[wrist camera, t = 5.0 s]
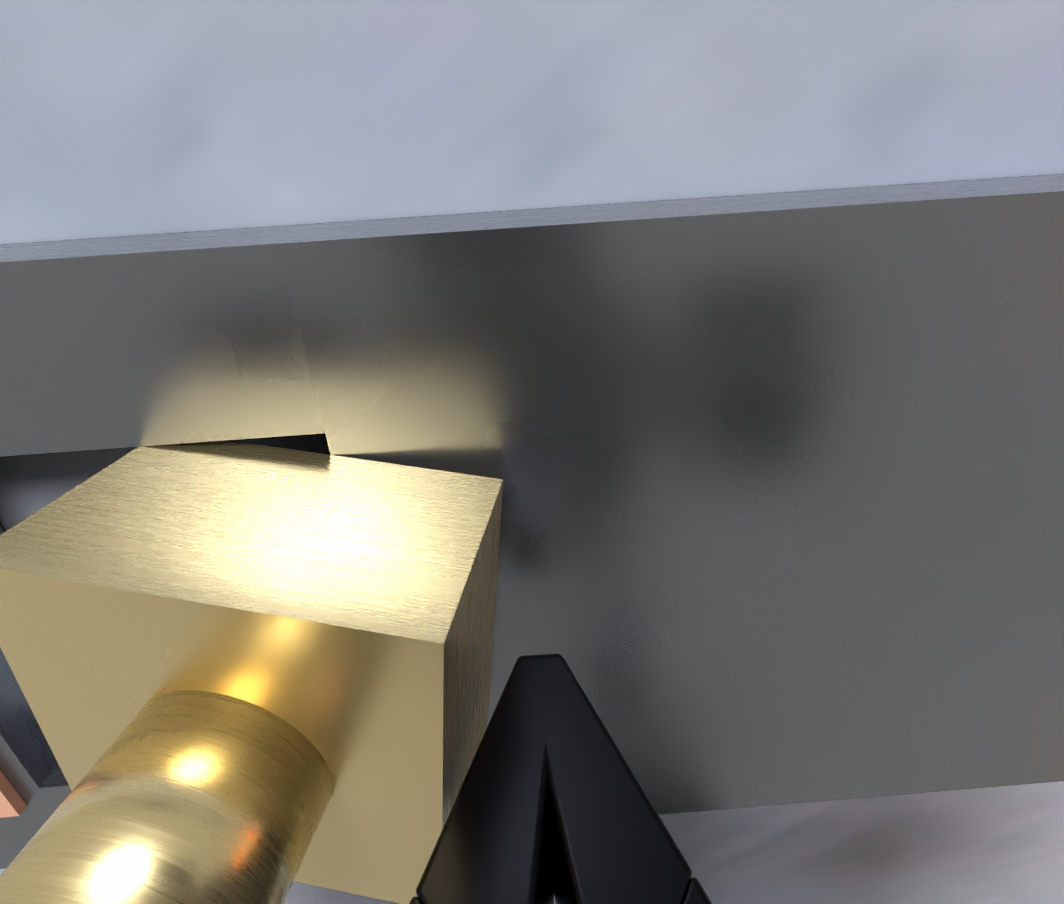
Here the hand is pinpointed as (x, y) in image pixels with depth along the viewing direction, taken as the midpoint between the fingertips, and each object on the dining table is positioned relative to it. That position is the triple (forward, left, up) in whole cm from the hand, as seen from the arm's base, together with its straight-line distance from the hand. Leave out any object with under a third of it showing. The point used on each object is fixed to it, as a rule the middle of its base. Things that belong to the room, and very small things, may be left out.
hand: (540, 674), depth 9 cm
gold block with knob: (+1, +3, -2) cm, 3 cm away
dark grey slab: (0, 0, -3) cm, 3 cm away
